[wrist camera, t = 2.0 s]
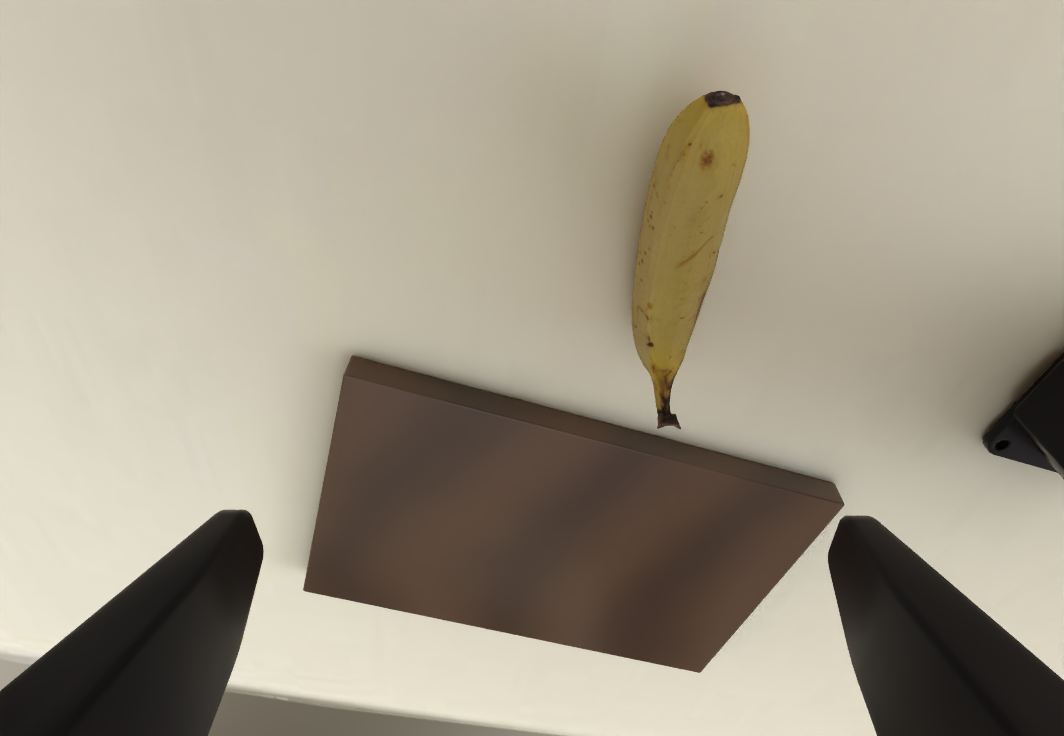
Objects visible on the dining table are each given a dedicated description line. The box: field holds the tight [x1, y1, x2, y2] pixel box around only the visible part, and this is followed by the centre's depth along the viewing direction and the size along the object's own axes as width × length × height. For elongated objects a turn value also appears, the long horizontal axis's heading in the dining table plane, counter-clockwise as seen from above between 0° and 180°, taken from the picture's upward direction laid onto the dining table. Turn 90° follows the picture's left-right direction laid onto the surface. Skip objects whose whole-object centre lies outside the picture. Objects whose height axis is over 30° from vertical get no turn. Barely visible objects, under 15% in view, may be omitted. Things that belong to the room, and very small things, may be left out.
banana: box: [632, 91, 749, 429], centre depth 20 cm, size 10×2×4 cm, turn 179°
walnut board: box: [303, 356, 844, 673], centre depth 29 cm, size 20×13×1 cm, turn 72°
